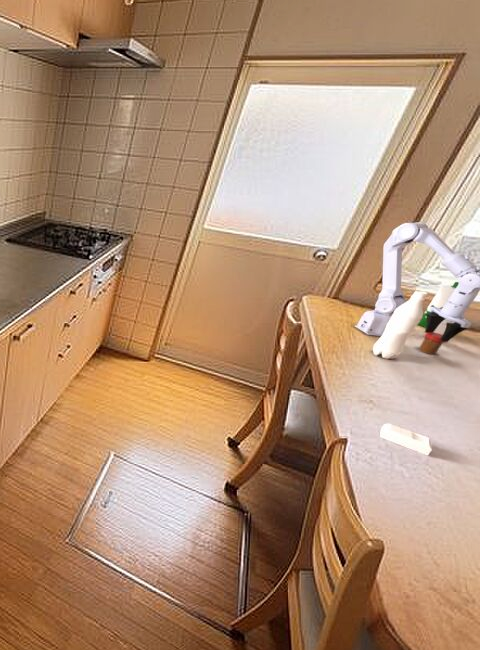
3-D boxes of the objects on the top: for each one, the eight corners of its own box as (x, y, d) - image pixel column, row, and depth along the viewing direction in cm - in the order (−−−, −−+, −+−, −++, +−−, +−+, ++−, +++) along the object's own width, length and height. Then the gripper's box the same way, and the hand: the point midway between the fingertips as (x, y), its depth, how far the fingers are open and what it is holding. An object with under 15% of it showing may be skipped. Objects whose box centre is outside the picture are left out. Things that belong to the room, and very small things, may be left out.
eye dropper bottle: (445, 343, 168) (463, 316, 163) (426, 338, 171) (443, 311, 165) (442, 339, 171) (460, 312, 166) (424, 335, 174) (441, 308, 169)
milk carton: (449, 330, 181) (478, 286, 172) (440, 332, 177) (469, 288, 168) (423, 321, 188) (450, 279, 179) (414, 324, 184) (440, 281, 175)
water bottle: (400, 362, 150) (441, 297, 138) (378, 358, 151) (417, 294, 140) (387, 352, 156) (425, 289, 145) (365, 349, 157) (401, 287, 146)
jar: (425, 353, 158) (435, 338, 155) (414, 347, 162) (424, 333, 159) (439, 355, 158) (449, 340, 155) (427, 348, 162) (437, 334, 159)
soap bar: (381, 429, 113) (386, 421, 112) (426, 446, 107) (432, 438, 106) (380, 437, 109) (385, 429, 108) (427, 455, 104) (433, 447, 103)
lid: (449, 343, 155) (452, 339, 154) (433, 341, 155) (435, 337, 154) (436, 336, 160) (439, 332, 159) (420, 334, 160) (423, 331, 159)
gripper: (489, 312, 144) (465, 347, 150) (452, 297, 157) (431, 329, 163) (467, 310, 144) (444, 344, 151) (431, 295, 157) (411, 327, 164)
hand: (435, 336), depth 157 cm, fingers open, 6 cm apart
